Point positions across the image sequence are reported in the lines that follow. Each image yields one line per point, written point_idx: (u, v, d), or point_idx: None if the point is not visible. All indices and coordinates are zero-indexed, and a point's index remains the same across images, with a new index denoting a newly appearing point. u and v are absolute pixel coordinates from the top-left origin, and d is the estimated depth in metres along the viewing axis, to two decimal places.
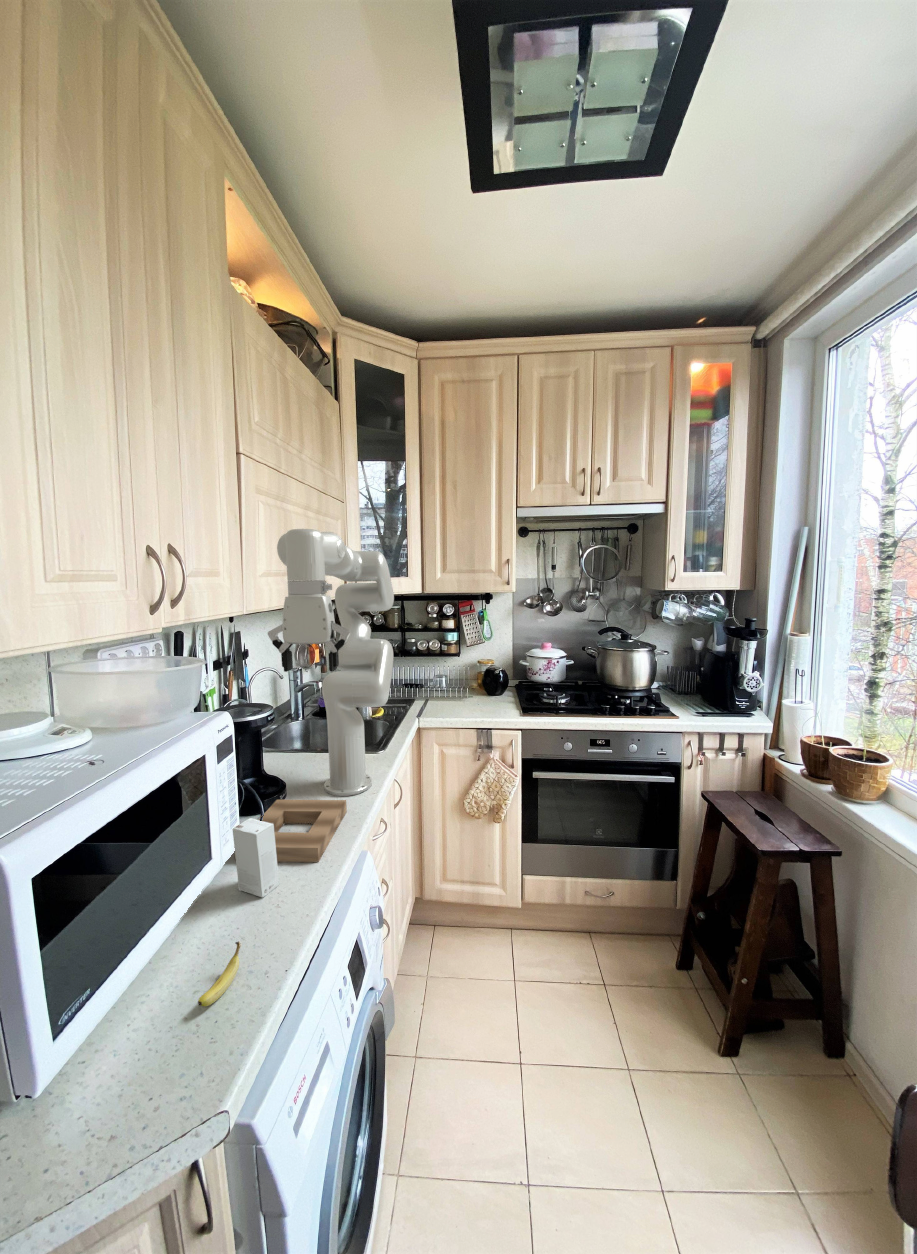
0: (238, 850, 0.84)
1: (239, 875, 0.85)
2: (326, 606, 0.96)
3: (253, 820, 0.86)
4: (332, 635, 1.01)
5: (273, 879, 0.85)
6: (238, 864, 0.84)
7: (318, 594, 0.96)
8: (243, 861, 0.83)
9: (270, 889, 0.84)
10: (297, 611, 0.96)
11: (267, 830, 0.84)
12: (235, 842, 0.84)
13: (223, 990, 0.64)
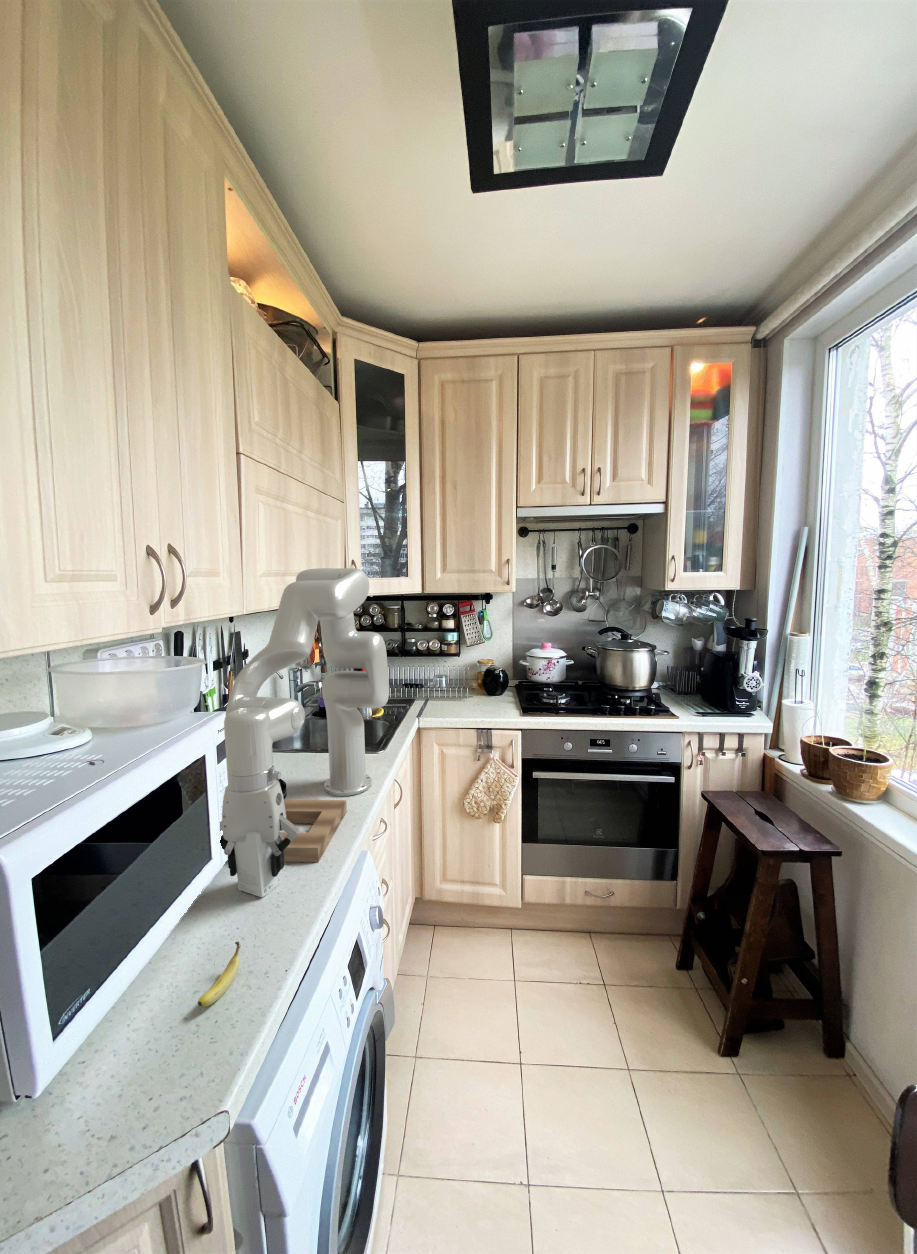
0: (238, 850, 0.84)
1: (239, 875, 0.85)
2: (273, 800, 0.82)
3: None
4: None
5: (273, 879, 0.85)
6: (237, 864, 0.84)
7: (263, 788, 0.81)
8: (243, 860, 0.83)
9: (270, 889, 0.84)
10: (238, 807, 0.82)
11: None
12: None
13: (223, 990, 0.64)
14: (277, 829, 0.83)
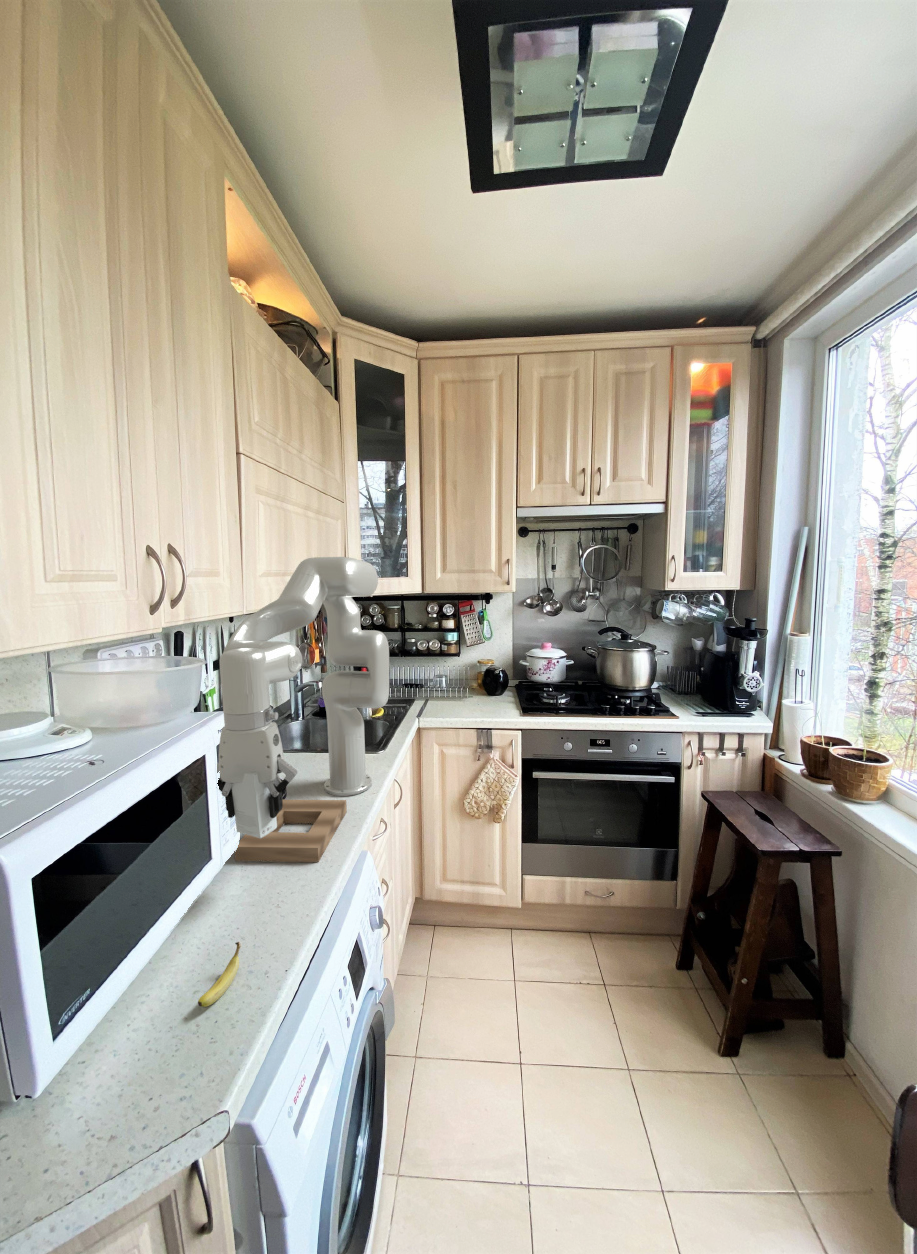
0: (235, 791, 0.83)
1: (237, 817, 0.84)
2: (270, 740, 0.81)
3: None
4: None
5: (271, 821, 0.84)
6: (235, 806, 0.84)
7: (260, 727, 0.80)
8: (241, 802, 0.83)
9: (268, 831, 0.84)
10: (235, 747, 0.81)
11: None
12: None
13: (223, 990, 0.64)
14: (275, 770, 0.82)
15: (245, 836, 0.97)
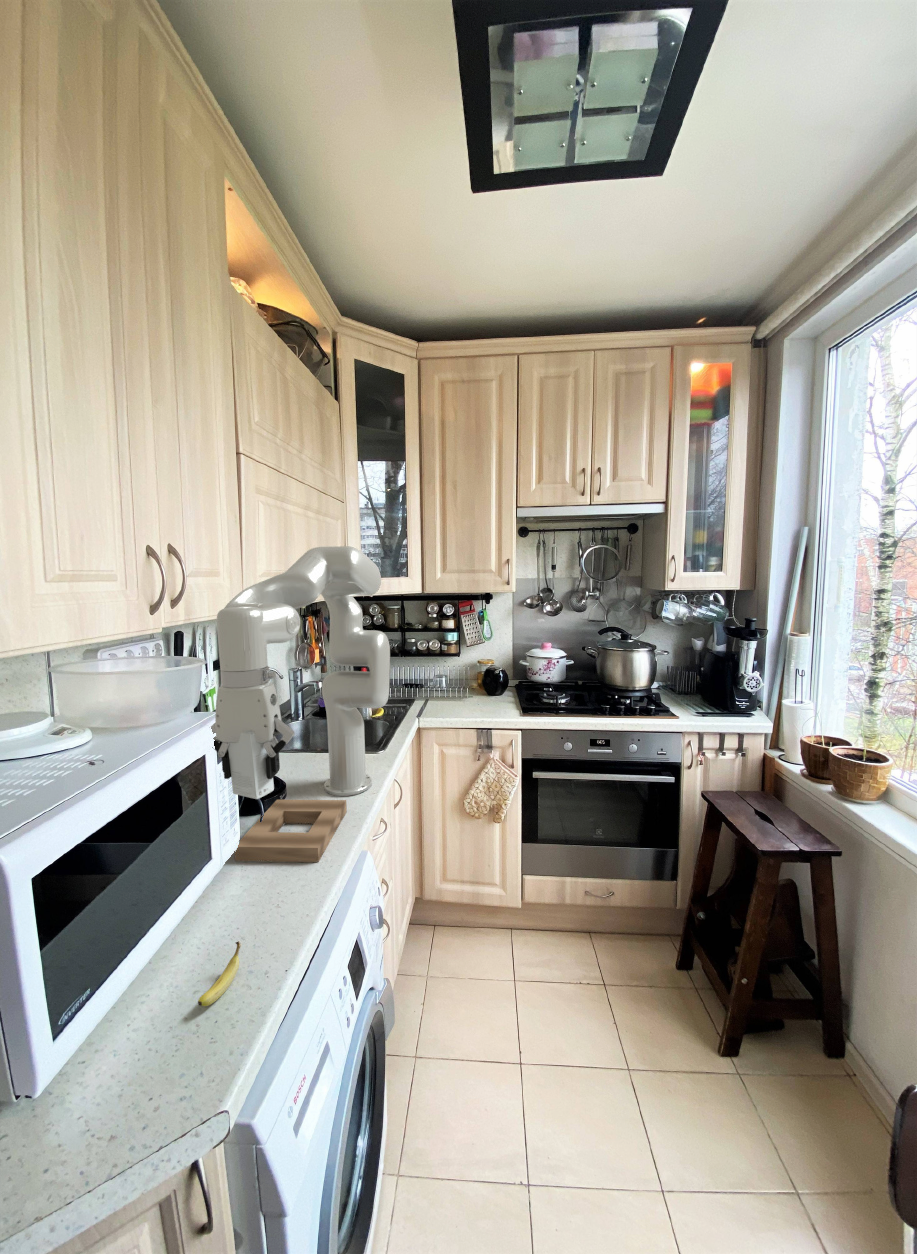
0: (232, 752, 0.82)
1: (233, 778, 0.83)
2: (267, 699, 0.80)
3: None
4: None
5: (268, 783, 0.83)
6: (232, 767, 0.83)
7: (257, 686, 0.80)
8: (237, 762, 0.82)
9: (265, 792, 0.83)
10: (232, 706, 0.80)
11: None
12: None
13: (223, 990, 0.64)
14: (272, 729, 0.81)
15: (245, 836, 0.97)
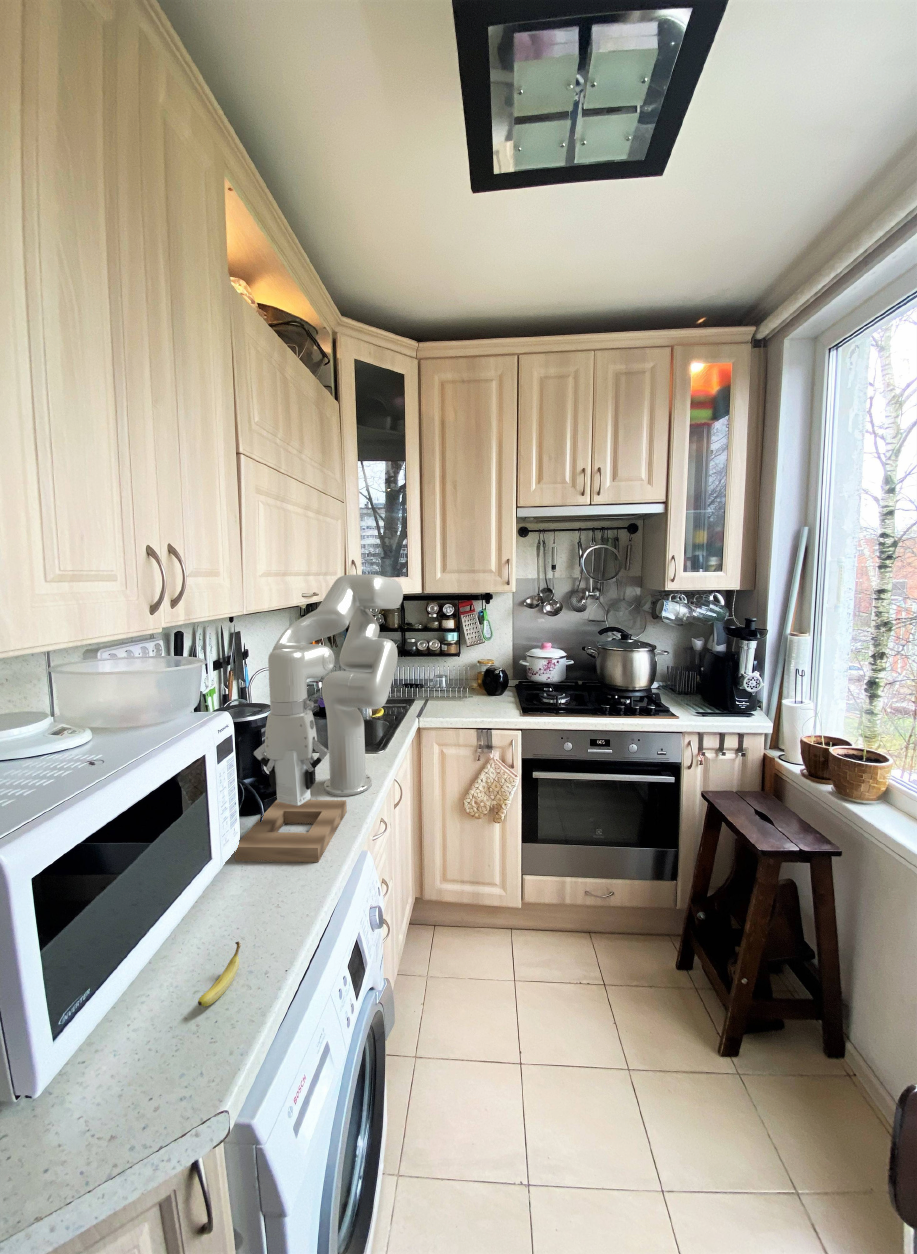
0: (277, 767, 1.01)
1: (278, 788, 1.01)
2: (307, 724, 0.99)
3: None
4: None
5: (306, 792, 1.02)
6: (277, 779, 1.01)
7: (300, 713, 0.98)
8: (282, 775, 1.00)
9: (304, 800, 1.01)
10: (279, 730, 0.99)
11: None
12: None
13: (223, 990, 0.64)
14: (311, 749, 1.00)
15: (245, 836, 0.97)
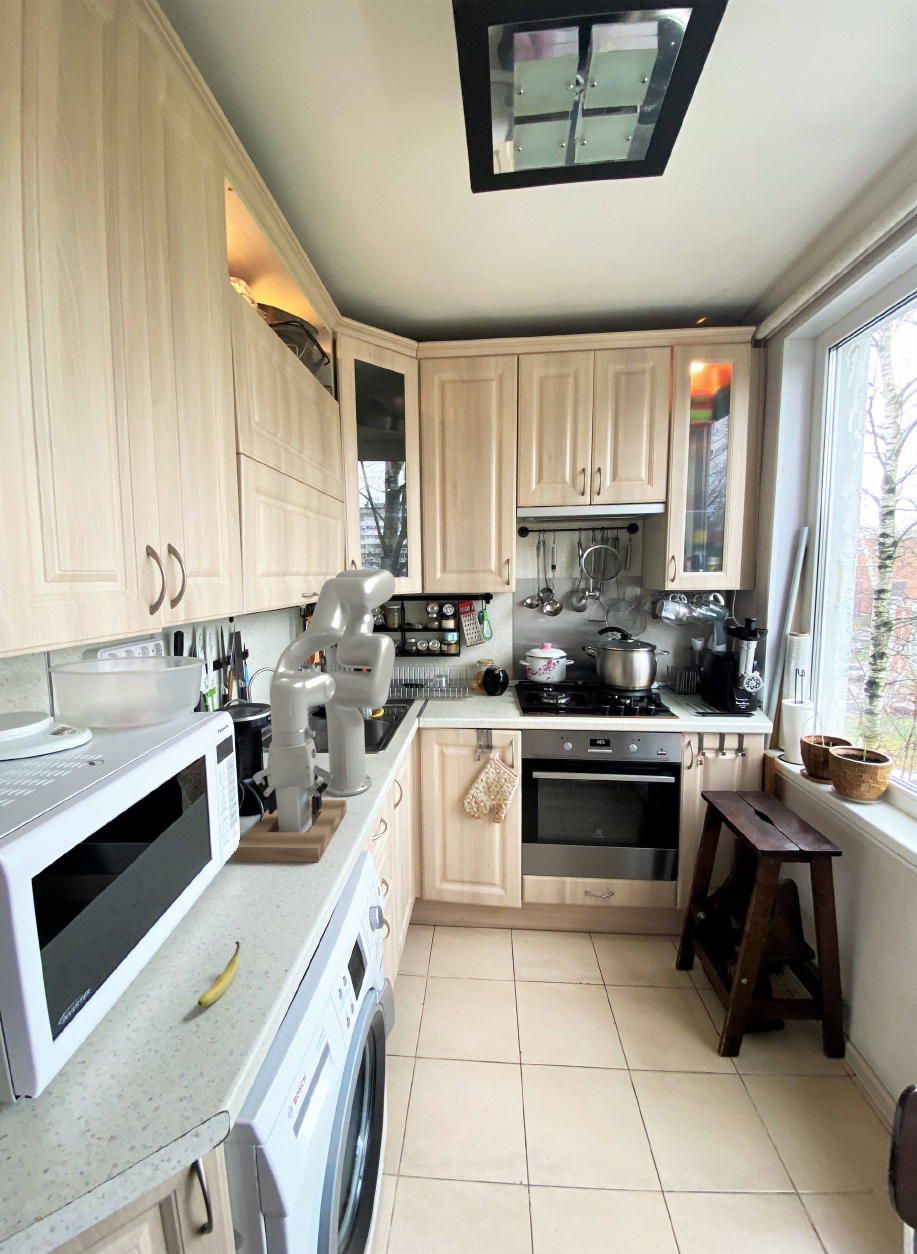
0: (279, 802, 1.02)
1: (280, 823, 1.03)
2: (309, 754, 1.00)
3: None
4: (316, 775, 1.05)
5: (308, 826, 1.03)
6: (279, 813, 1.02)
7: (301, 743, 0.99)
8: (284, 810, 1.01)
9: None
10: (281, 759, 0.99)
11: None
12: (277, 795, 1.02)
13: (223, 990, 0.64)
14: (312, 778, 1.00)
15: (245, 836, 0.97)
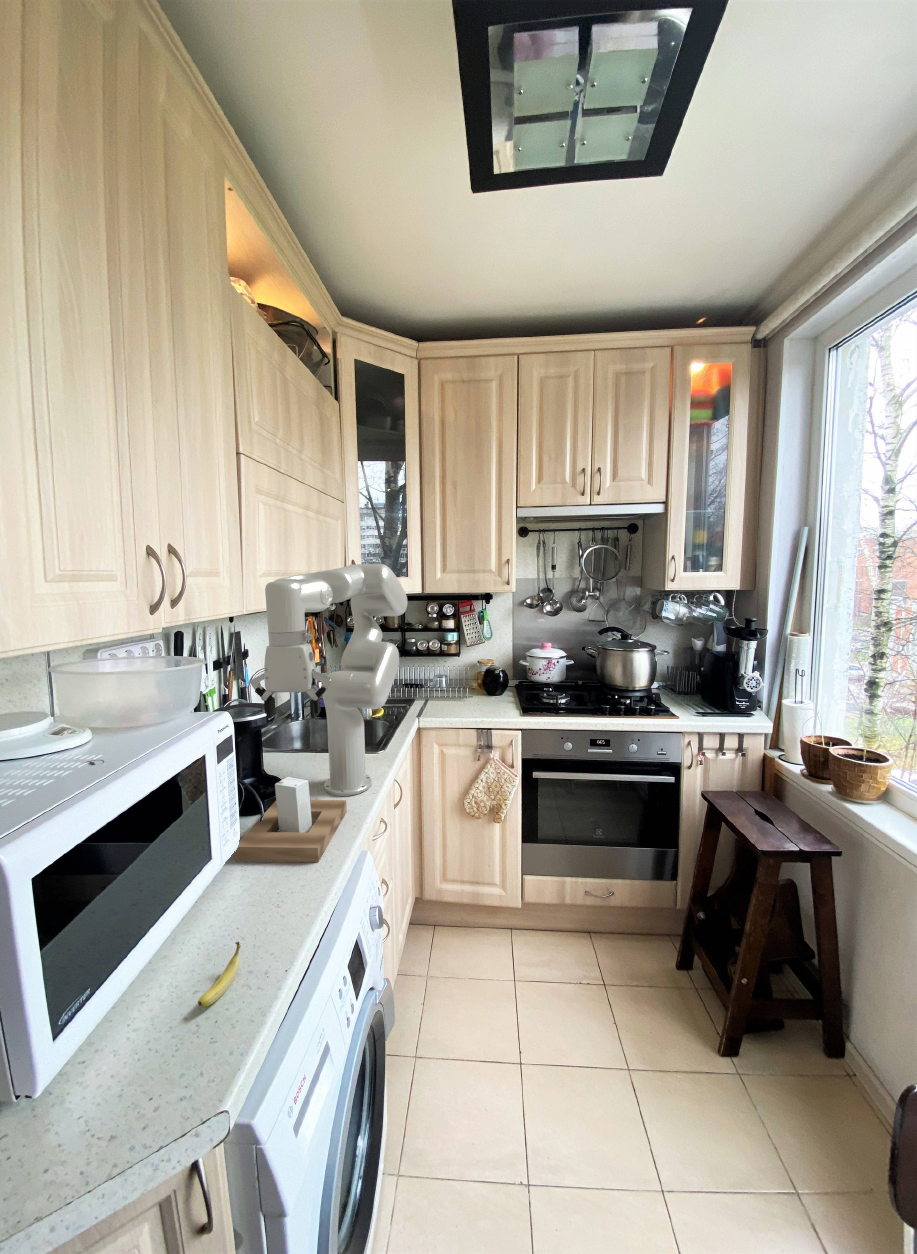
0: (279, 802, 1.02)
1: (280, 823, 1.03)
2: (306, 656, 0.99)
3: (291, 778, 1.04)
4: (314, 681, 1.04)
5: (308, 826, 1.03)
6: (279, 813, 1.02)
7: (298, 645, 0.98)
8: (284, 810, 1.01)
9: None
10: (278, 661, 0.98)
11: (303, 785, 1.02)
12: (277, 795, 1.02)
13: (223, 990, 0.64)
14: (310, 680, 0.99)
15: (245, 836, 0.97)
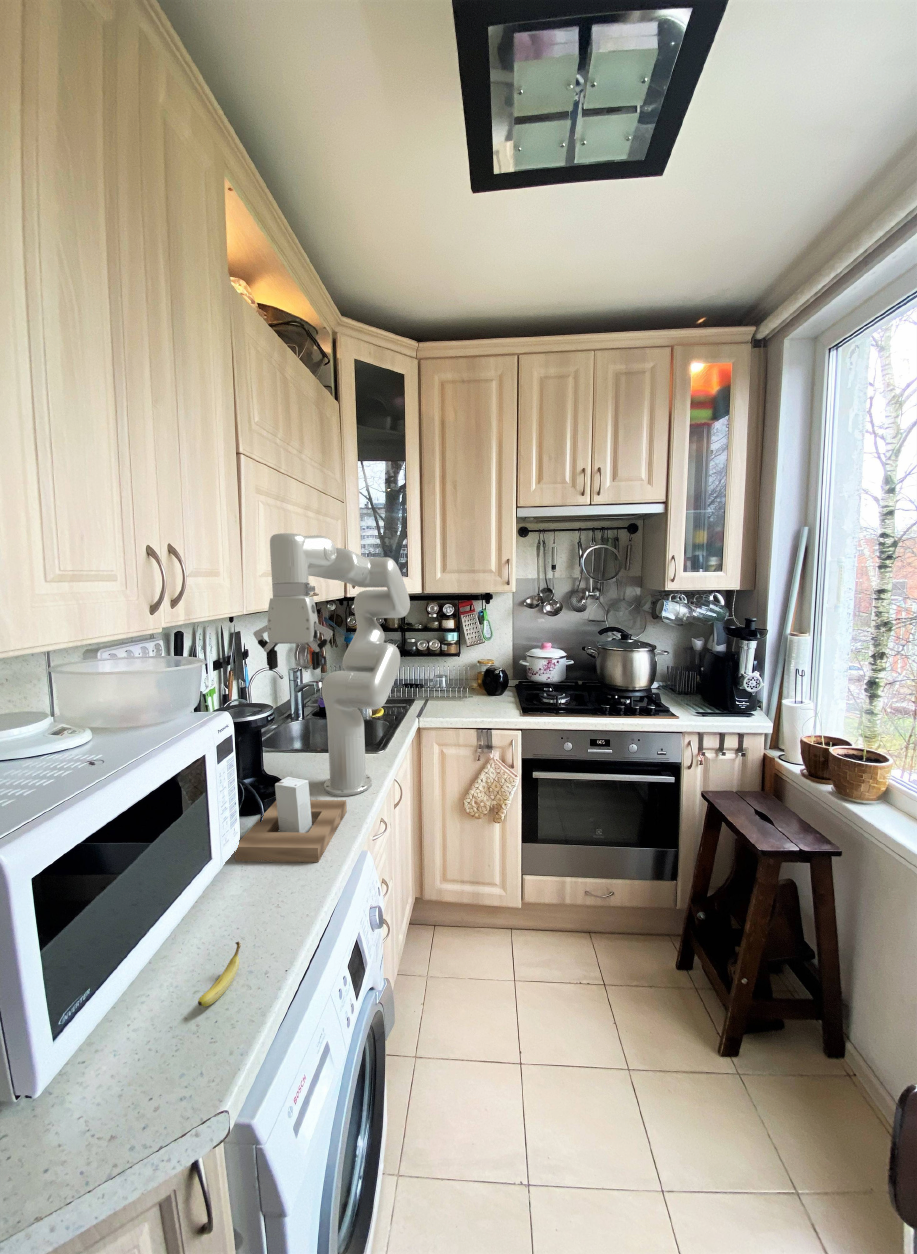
0: (279, 802, 1.02)
1: (280, 823, 1.03)
2: (309, 607, 1.01)
3: (291, 778, 1.04)
4: (316, 635, 1.06)
5: (308, 826, 1.03)
6: (279, 813, 1.02)
7: (301, 596, 1.00)
8: (284, 810, 1.01)
9: None
10: (281, 612, 1.00)
11: (303, 785, 1.02)
12: (277, 795, 1.02)
13: (223, 990, 0.64)
14: (312, 632, 1.01)
15: (245, 836, 0.97)
